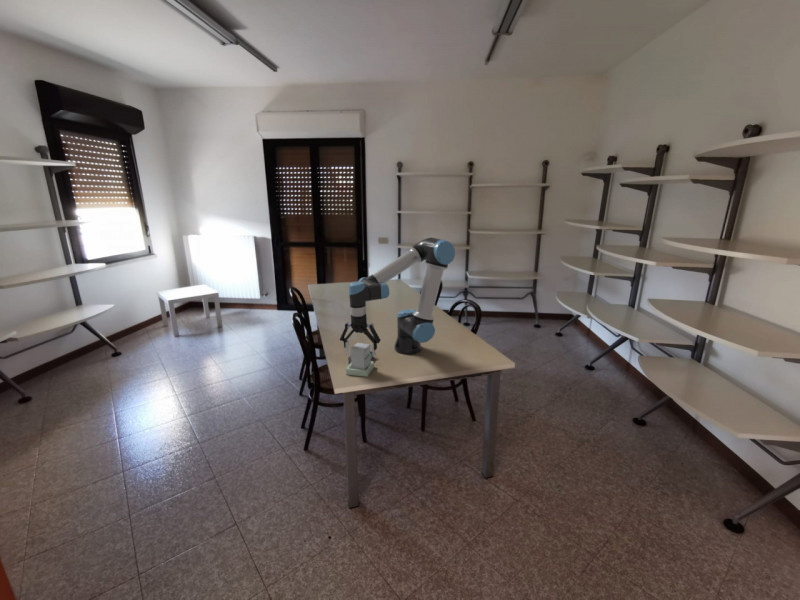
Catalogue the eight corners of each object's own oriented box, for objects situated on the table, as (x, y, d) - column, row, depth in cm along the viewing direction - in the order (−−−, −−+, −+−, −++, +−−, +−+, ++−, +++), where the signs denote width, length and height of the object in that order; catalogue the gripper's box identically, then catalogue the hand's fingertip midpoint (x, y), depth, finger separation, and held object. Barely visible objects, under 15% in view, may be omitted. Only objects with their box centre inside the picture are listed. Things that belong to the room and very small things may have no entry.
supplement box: (364, 373, 179) (363, 349, 176) (351, 371, 182) (350, 347, 178) (371, 367, 186) (370, 344, 182) (358, 364, 189) (357, 342, 185)
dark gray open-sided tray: (374, 357, 199) (374, 351, 198) (368, 365, 189) (368, 359, 188) (354, 355, 201) (354, 349, 200) (348, 363, 192) (348, 357, 191)
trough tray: (373, 366, 188) (373, 361, 187) (367, 376, 178) (367, 371, 177) (353, 364, 190) (353, 359, 190) (346, 374, 180) (345, 369, 179)
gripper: (385, 312, 177) (387, 353, 183) (337, 310, 182) (340, 349, 188) (381, 318, 170) (383, 359, 176) (331, 315, 175) (334, 355, 181)
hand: (360, 354), depth 182 cm, fingers open, 13 cm apart
